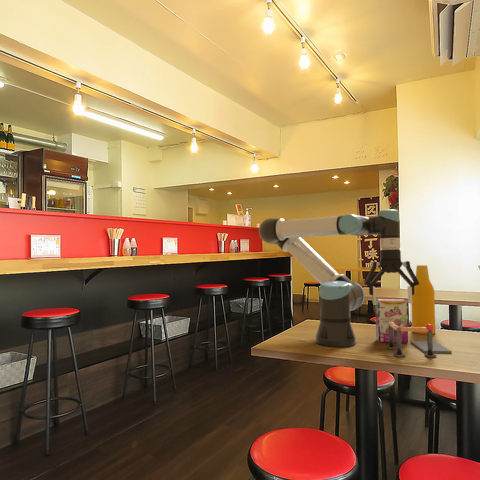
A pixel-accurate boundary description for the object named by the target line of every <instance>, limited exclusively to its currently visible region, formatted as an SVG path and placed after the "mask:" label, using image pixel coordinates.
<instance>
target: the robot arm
mask: <svg viewBox="0 0 480 480" xmlns="http://www.w3.org/2000/svg"><path fill="white" fill-rule="evenodd" d="M400 220H401V219H400V212H399V210H398V209H380V210H379V212H378V215H375V216H363V215H358V214H354V213H348V214H347V213H346V214H344V215H331V216H321V217H310V218H298V219H297V218H296V219H287V218H274V217H270V218H265V219H264V220H263V221H262V222H261V223H260V225H259V227H258V235H259V237H260V239H261V240H262V241H263V242H265V243H266V244H271V245H273V244H274V245H277V246H278V247H279V248H280V249H281V250H282V251H283V252H285V253H287V252H289V254H290V255H291V256H292V257H293V258H294V259H295V260H296V261H297V262H298V263H299V264H300V265H301V266H302V267H303V268H305V270H306V271H307V272H308V273H309V274H310V275H311V276H312V277H313V278H314V279H315V280H316V281H317V282H318V283H319V284H320V285H319V289H318V290H319V291H318V297H319V324H318V328H317V331H316V334H315V342H316V344H318V345H320V346H325V347H331V348H332V347H333V348H335V347H336V348H337V347H338V348H344V347H351V346H355V345H356V344H357V342H356V339H357V338H356V335H355V331H354V330H353V327H352V323H351V312H352V311H355V310H358V309H359V308H360V307H361V306H362V305H363V304H364V302H365V299H366V298H365V297H366V296H365V295H366V294H365V293H366V292H365V290H364V288H363V286H362V285H360V283H358V282H356V281H352V280H351V279H350V278H348V276H347V275H345V274H344V273H342V274H341V273H339V272H337V271H336V269H334V268H333V267H332V266H331V265H330V264H329V262H327V261H326V260H325V259H324V258H323V257H322V256H321V255H319V253H317V252H316V251H315V250H314V249H313V247H311V246H310V245H309V243H307V242H306V241H305V240H304V239H303V238H310V237H312V238H313V237H326V236H343V235H345V236H347V235H351V236H355V237H356V236H358V237H360V236H370V235H371V236H374V235H377V236H378V235H379V248H380V251H379V254H380V255H379V257H380V260H379V262H377V261H372V263H371V267H370V270H369V272H368V275H367V276H366V278H365V280H364V282H363V284H364V285H365V286H368V290H369V291H368V294H369V296H371V302H372V304H373V305H376V299H377V298H376V286H375V285H376V283H377V282H378V281H379V279H381V278H382V276H383V275H384V274H385V273H386V274H392V273H393V274H396V273H397V274H399V276H401V278H403V280H404V281H405V282H406V283H407V284H408V285H409V286H407V301H408V304H410V305H412V295H414V287H415V286H416V285H419V281H418V280H417V278H416V273H414V270H413V269H412V267H411V262H410V261H409V260H405V261H402V251H401V249H400V248H401V236H400V235H401V228H400V226H401V225H400V224H401V223H400V222H401V221H400ZM402 266H403V267H404V268H405V269H406V271H407V273H408V274H409V276H407V274H405V272H404V271H403V270H402V268H401V267H402ZM378 267H380V270H379V272H378V273H377V274H376V275H375V276H374V274H375V271H376V270H377V268H378ZM373 276H374V277H373ZM409 277H410V278H411V279H410V278H409ZM372 278H373V279H372Z"/></svg>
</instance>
